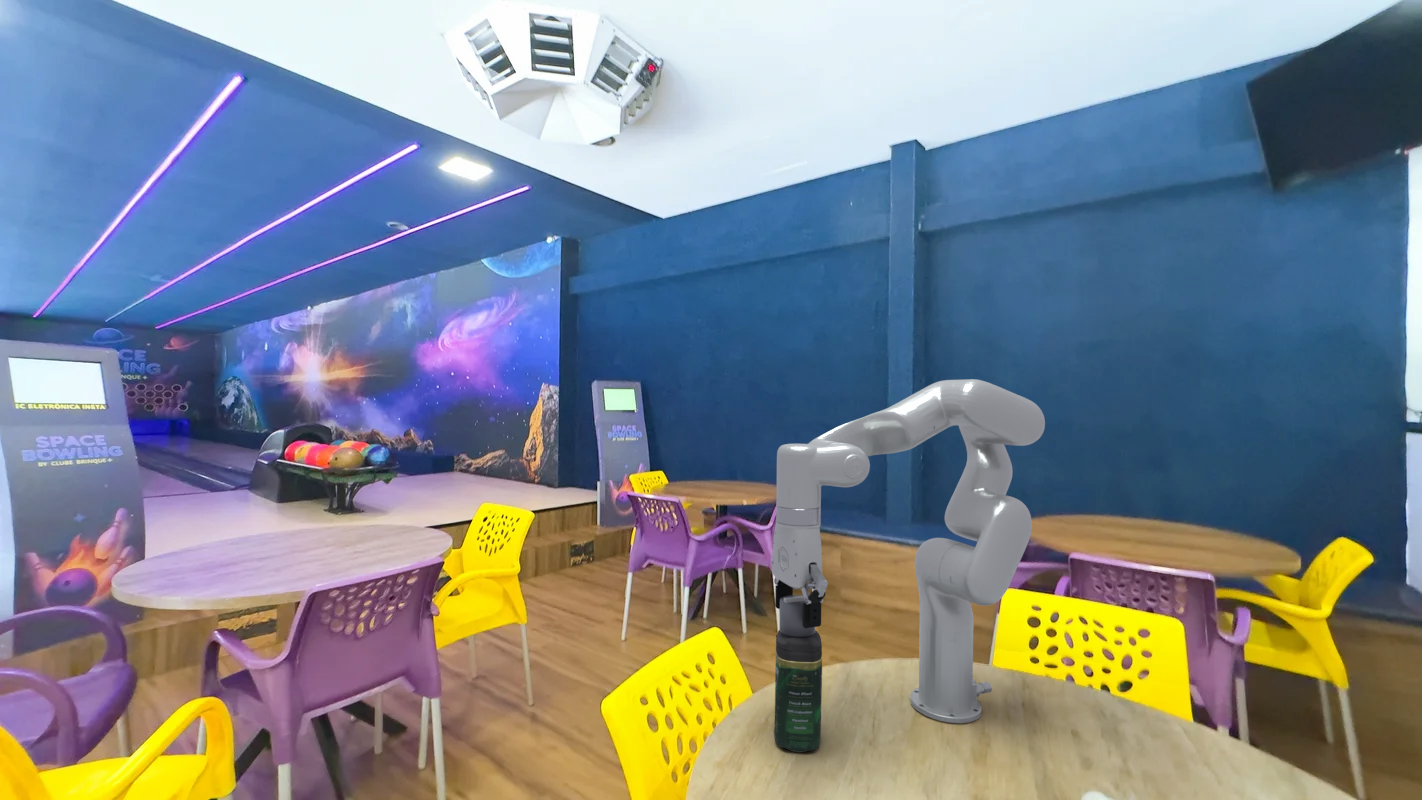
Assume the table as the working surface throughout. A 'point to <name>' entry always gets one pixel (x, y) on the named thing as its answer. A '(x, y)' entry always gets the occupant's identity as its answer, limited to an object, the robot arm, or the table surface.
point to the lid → (793, 616)
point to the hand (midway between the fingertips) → (797, 616)
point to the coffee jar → (798, 692)
